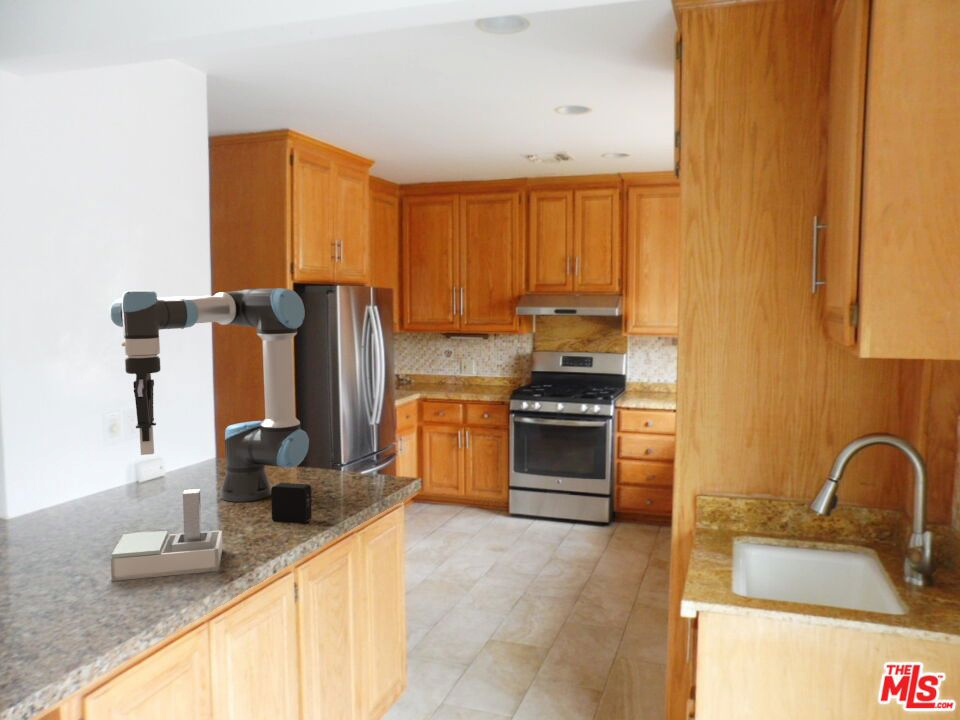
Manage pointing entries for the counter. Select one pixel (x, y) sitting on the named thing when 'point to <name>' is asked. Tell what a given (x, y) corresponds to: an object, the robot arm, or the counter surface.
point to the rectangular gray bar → (192, 515)
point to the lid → (140, 543)
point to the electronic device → (291, 503)
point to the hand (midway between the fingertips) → (147, 453)
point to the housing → (172, 558)
